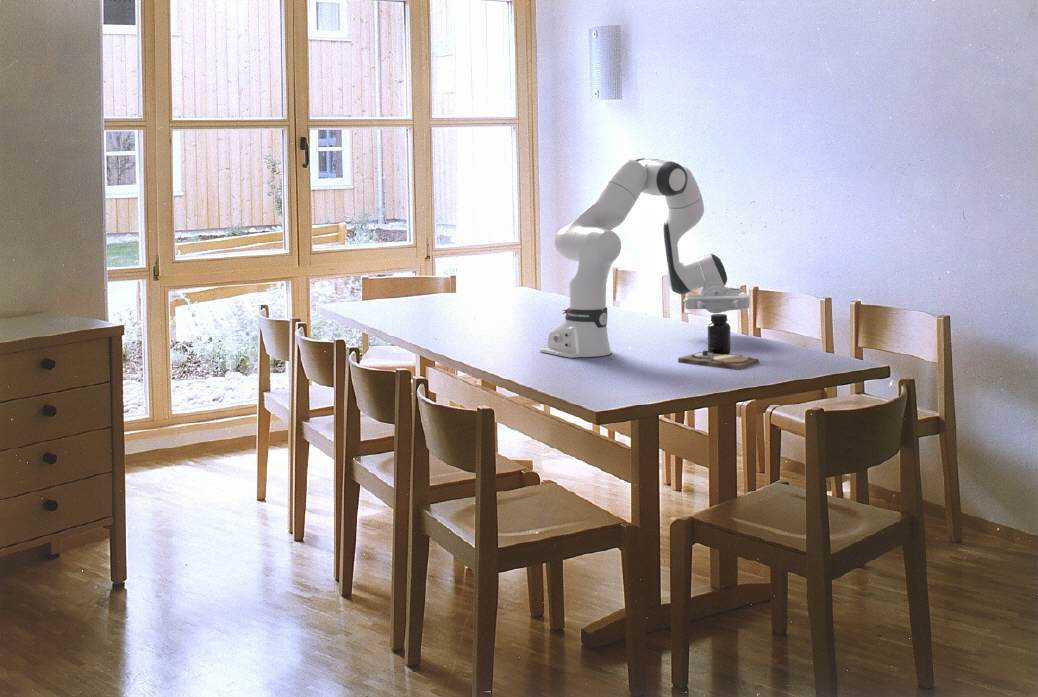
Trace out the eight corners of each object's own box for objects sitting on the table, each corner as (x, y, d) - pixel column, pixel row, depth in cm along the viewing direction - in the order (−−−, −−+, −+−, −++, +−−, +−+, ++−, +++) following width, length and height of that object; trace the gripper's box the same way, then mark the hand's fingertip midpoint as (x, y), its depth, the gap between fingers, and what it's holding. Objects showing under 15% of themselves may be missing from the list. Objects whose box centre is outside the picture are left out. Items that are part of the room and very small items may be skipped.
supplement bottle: (717, 351, 372) (718, 312, 370) (735, 354, 367) (735, 314, 365) (702, 354, 368) (703, 315, 366) (720, 357, 363) (720, 317, 361)
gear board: (678, 362, 356) (678, 352, 355) (699, 355, 365) (700, 346, 364) (738, 369, 343) (738, 359, 343) (759, 363, 352) (759, 352, 352)
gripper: (683, 290, 391) (684, 296, 378) (747, 288, 389) (751, 295, 376) (683, 309, 393) (684, 316, 379) (747, 308, 390) (751, 315, 377)
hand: (718, 305), depth 377 cm, fingers open, 8 cm apart
